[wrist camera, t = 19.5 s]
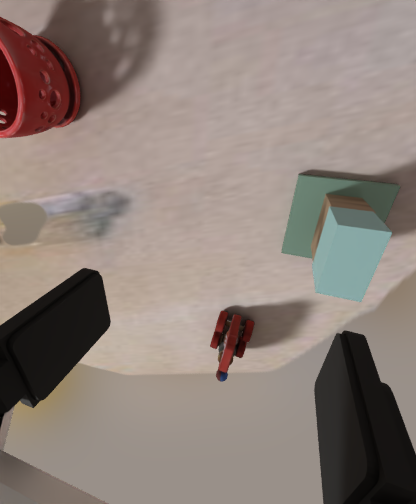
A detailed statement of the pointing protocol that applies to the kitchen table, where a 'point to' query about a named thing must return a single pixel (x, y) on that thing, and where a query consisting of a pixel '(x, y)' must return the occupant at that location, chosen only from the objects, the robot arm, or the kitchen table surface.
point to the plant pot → (34, 83)
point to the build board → (311, 201)
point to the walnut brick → (341, 203)
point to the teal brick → (348, 252)
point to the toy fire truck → (230, 341)
